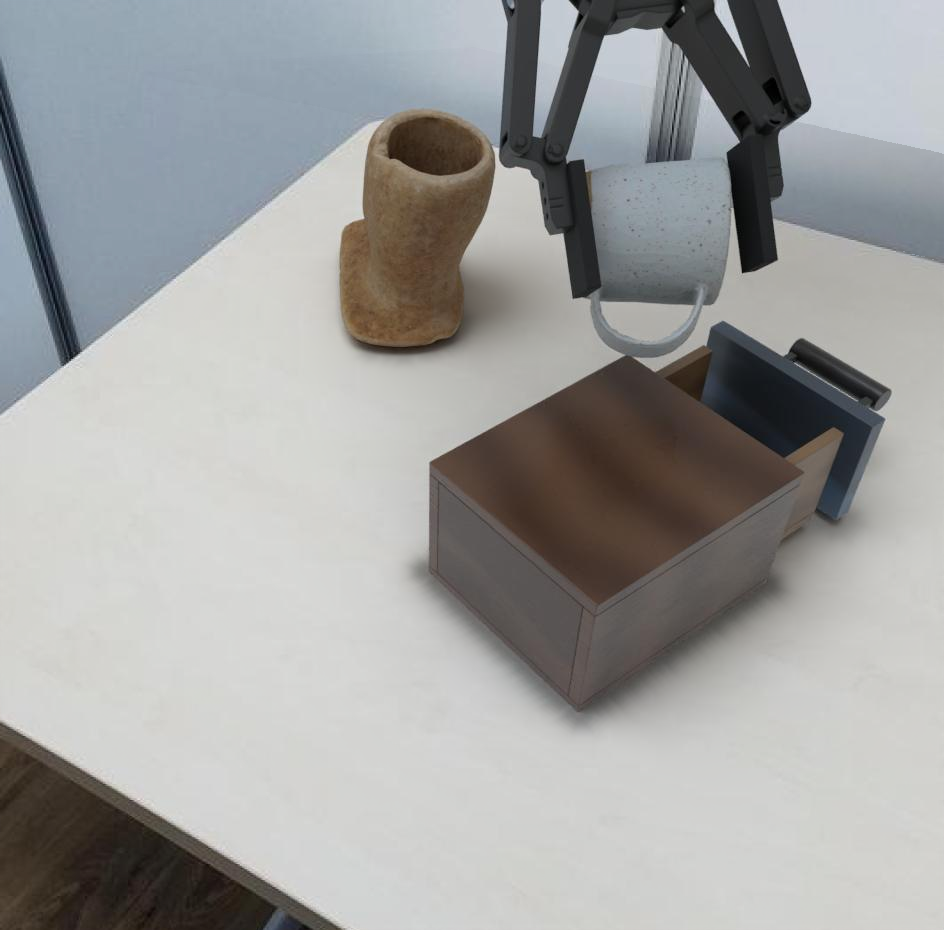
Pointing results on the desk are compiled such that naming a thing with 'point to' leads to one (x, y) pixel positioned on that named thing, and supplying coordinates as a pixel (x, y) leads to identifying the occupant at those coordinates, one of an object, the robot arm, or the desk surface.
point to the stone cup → (414, 228)
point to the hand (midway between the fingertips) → (673, 279)
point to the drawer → (791, 410)
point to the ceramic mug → (659, 241)
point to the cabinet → (606, 525)
